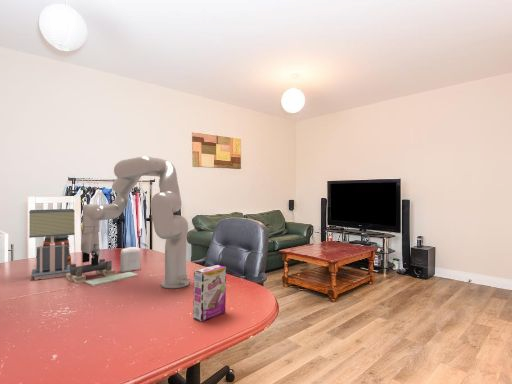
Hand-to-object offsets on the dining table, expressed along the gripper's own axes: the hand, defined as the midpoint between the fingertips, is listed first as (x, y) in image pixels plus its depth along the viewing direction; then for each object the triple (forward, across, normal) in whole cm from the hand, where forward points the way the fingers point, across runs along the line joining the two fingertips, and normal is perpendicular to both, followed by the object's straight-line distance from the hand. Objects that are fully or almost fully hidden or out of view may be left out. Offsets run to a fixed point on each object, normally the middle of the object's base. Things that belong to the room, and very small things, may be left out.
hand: (90, 263), depth 153 cm
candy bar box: (+5, +81, +5) cm, 81 cm away
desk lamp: (+7, -17, -11) cm, 22 cm away
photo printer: (+6, +4, +19) cm, 21 cm away
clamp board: (+6, +1, 0) cm, 6 cm away
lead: (+4, 0, 0) cm, 4 cm away
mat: (+6, +12, +5) cm, 15 cm away
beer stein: (+8, -42, -1) cm, 43 cm away
